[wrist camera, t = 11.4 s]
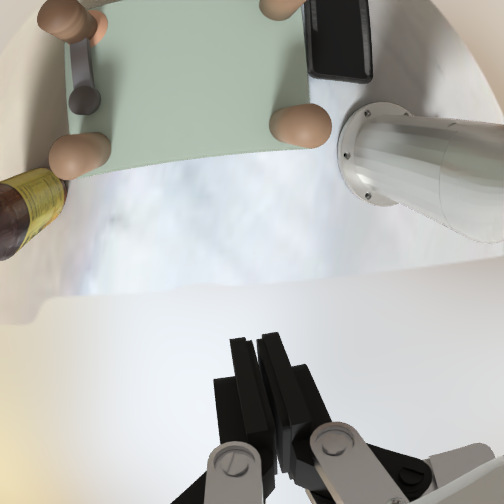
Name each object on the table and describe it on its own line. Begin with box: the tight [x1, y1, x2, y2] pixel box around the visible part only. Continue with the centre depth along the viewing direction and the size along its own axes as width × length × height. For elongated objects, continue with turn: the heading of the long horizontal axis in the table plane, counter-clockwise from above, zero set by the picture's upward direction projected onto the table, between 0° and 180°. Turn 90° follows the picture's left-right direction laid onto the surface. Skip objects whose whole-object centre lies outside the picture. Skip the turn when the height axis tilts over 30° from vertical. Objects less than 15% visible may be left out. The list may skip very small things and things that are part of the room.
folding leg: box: [37, 0, 101, 115], centre depth 20 cm, size 11×4×7 cm, turn 7°
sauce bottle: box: [0, 168, 67, 261], centre depth 21 cm, size 7×6×20 cm
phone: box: [304, 0, 373, 84], centre depth 28 cm, size 8×1×15 cm
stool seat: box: [49, 0, 332, 180], centre depth 24 cm, size 24×18×9 cm
